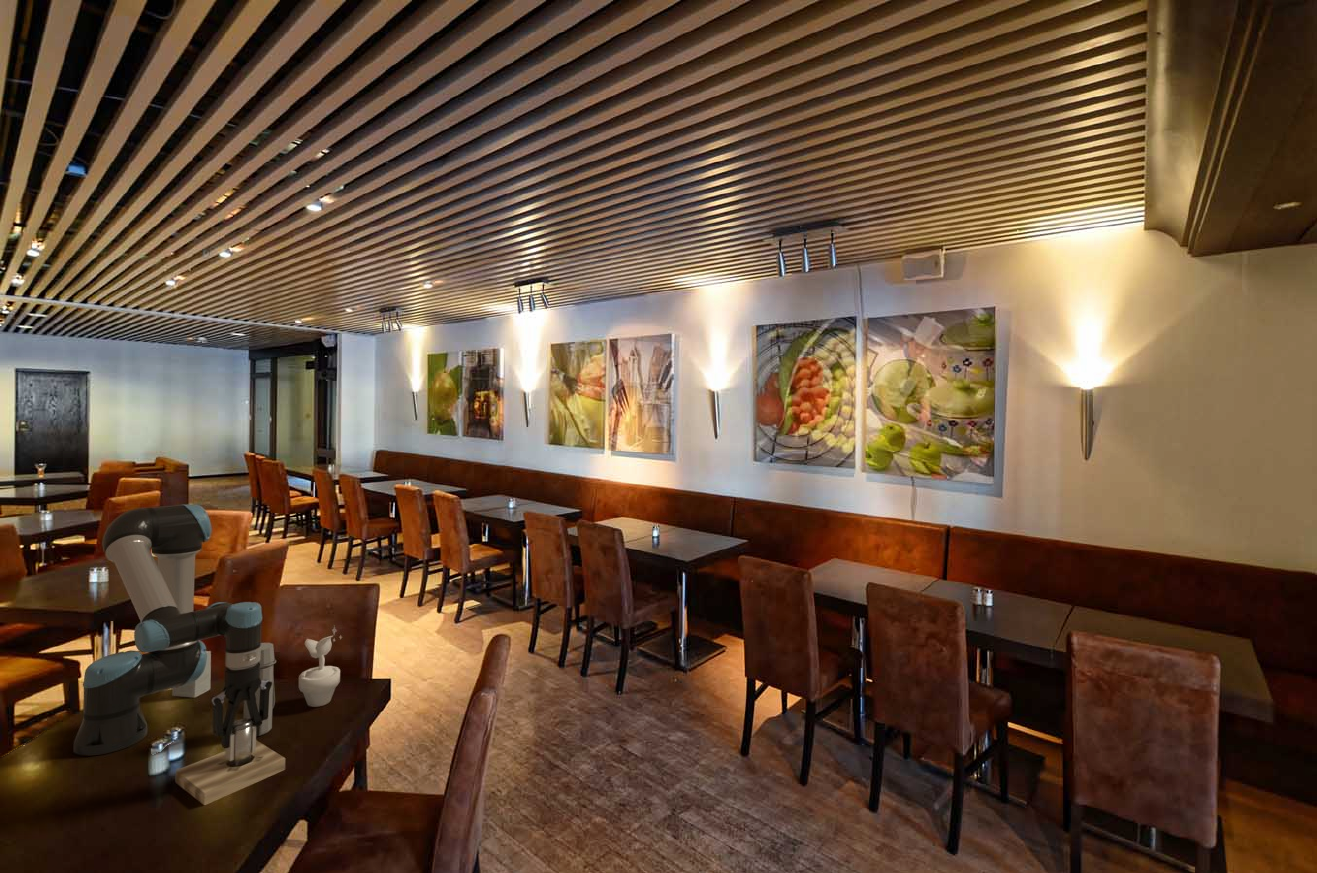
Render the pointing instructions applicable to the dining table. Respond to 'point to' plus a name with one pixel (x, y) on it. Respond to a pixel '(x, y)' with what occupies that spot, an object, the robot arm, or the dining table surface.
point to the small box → (196, 683)
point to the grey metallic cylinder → (242, 742)
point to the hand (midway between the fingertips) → (240, 754)
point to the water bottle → (265, 674)
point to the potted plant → (319, 674)
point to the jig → (227, 774)
